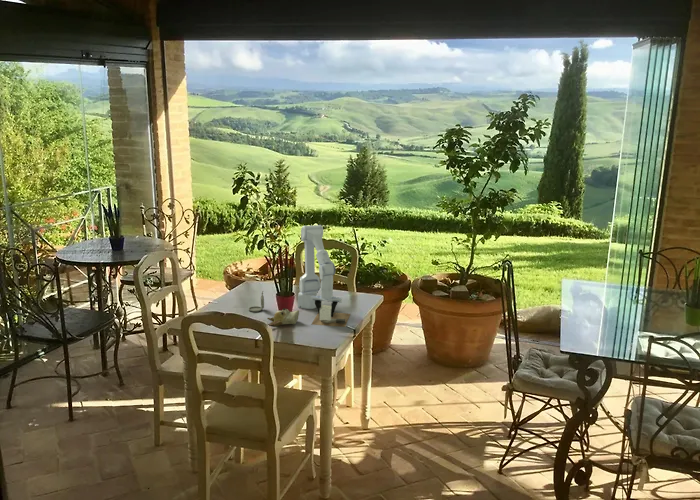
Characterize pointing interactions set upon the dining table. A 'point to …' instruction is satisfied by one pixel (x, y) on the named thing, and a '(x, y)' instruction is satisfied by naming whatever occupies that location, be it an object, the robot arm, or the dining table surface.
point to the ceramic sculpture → (284, 317)
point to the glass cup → (256, 308)
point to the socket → (325, 312)
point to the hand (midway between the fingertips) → (326, 315)
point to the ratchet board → (333, 320)
